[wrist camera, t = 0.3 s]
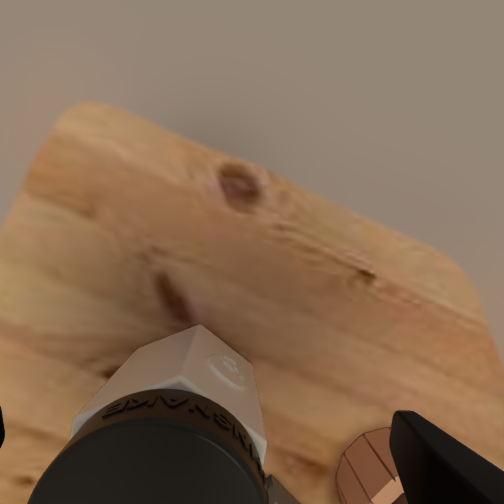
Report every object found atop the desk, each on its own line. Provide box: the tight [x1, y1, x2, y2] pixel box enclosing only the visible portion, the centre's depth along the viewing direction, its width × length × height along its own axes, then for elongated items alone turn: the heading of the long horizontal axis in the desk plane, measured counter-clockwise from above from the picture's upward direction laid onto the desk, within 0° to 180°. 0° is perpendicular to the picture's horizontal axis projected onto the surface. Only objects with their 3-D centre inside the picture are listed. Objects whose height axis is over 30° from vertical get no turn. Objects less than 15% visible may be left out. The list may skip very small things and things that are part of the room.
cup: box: [336, 427, 404, 504], centre depth 22 cm, size 7×7×4 cm
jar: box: [27, 324, 269, 504], centre depth 17 cm, size 9×8×12 cm
